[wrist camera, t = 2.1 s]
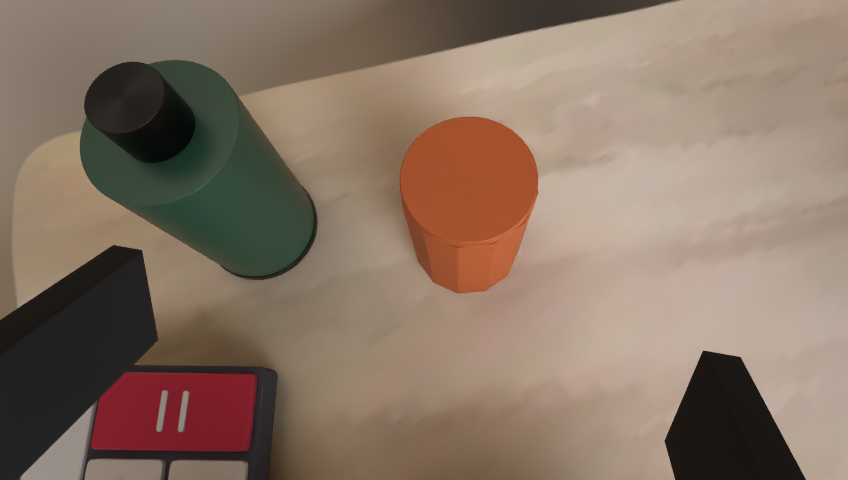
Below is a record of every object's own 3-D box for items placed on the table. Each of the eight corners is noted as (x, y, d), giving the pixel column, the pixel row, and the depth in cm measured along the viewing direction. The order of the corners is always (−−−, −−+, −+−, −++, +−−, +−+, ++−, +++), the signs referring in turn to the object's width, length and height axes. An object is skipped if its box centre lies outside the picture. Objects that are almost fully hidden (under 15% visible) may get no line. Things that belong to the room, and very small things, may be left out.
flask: (336, 199, 42) (251, 52, 25) (283, 298, 40) (148, 212, 23) (244, 160, 43) (103, -3, 26) (188, 253, 41) (-6, 141, 24)
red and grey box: (243, 558, 31) (-10, 553, 31) (265, 541, 35) (41, 537, 36) (263, 365, 35) (33, 362, 35) (281, 370, 39) (75, 368, 39)
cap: (531, 219, 40) (558, 143, 29) (493, 308, 38) (506, 265, 27) (441, 184, 42) (434, 98, 30) (400, 268, 40) (376, 210, 28)
